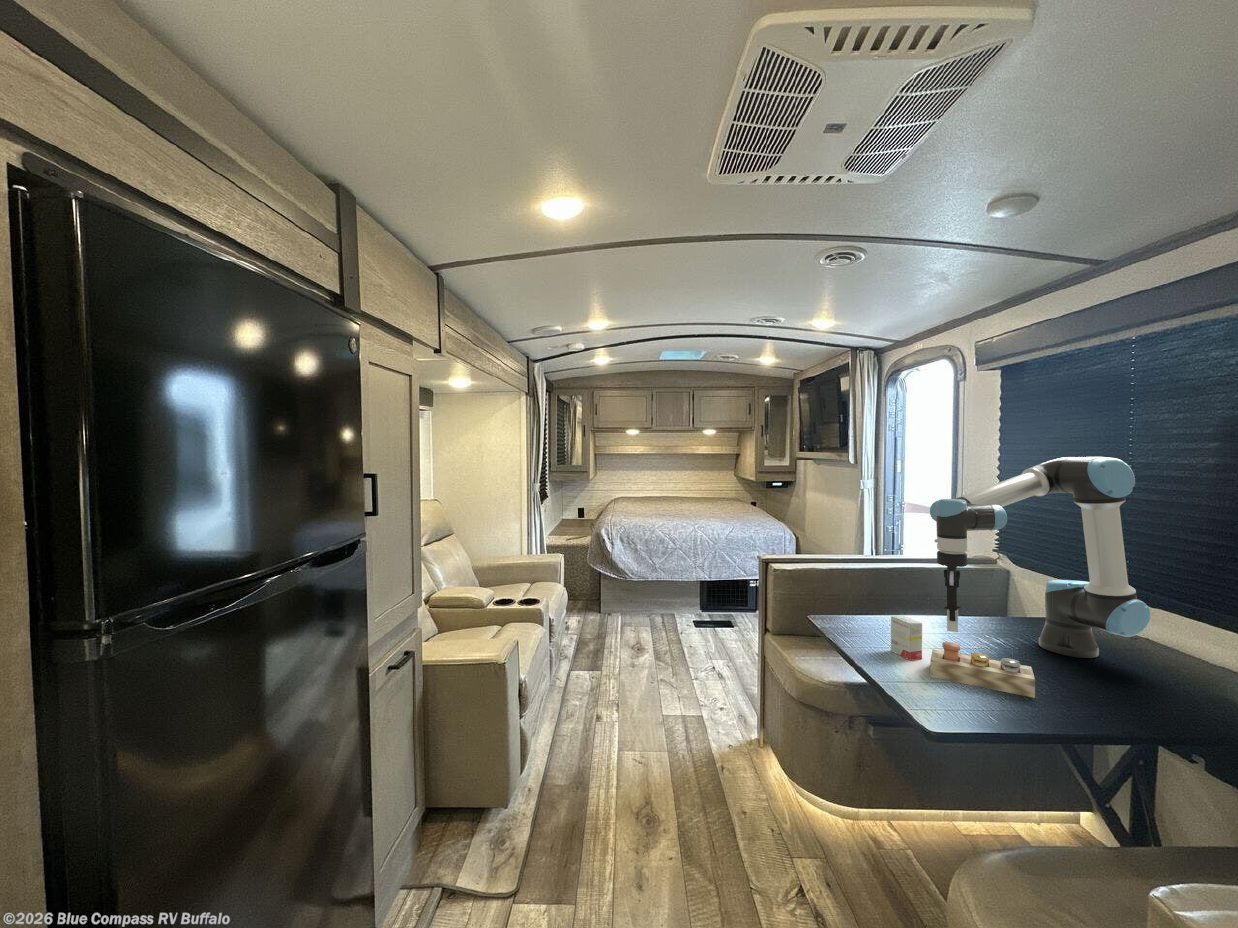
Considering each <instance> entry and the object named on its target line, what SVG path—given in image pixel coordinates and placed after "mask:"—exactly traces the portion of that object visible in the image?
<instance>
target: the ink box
mask: <svg viewBox="0 0 1238 928" xmlns="http://www.w3.org/2000/svg"><path fill="white" fill-rule="evenodd" d="M890 652H892V653H894V654H896V655H898V656H900V657H903V658H905V659H907V660H909V661H914V660H915V661H916V660H922V659H923V623H922V622H920V621H917V620H915V619H914V618H913V619H912V618H910V617H908V616H905V615H892V616H890Z"/></svg>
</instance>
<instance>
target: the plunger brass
mask: <svg viewBox="0 0 1238 928" xmlns="http://www.w3.org/2000/svg"><path fill="white" fill-rule="evenodd" d="M970 656H971V659H972V664H973V665H978V666H984V667H988V662H989V659H990V656H989V655H988V654H984V653H981V652H971V653H970Z"/></svg>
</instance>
